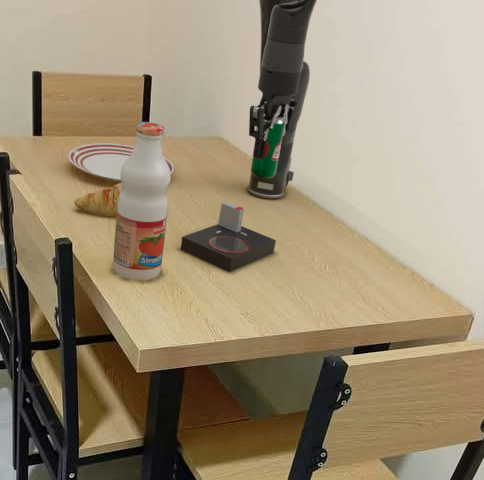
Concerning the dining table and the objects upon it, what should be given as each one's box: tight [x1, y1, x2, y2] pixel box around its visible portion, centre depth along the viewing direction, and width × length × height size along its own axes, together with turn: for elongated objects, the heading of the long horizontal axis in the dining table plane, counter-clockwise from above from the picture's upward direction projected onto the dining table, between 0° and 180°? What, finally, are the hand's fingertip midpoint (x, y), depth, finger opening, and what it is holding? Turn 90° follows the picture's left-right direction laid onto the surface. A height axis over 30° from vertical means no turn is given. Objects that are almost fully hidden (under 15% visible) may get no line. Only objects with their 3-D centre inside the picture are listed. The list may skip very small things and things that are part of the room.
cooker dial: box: [217, 201, 245, 232], centre depth 159 cm, size 5×2×5 cm, turn 50°
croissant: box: [73, 183, 122, 218], centre depth 167 cm, size 21×10×8 cm, turn 109°
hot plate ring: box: [209, 236, 249, 254], centre depth 152 cm, size 8×8×1 cm
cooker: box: [180, 220, 277, 273], centre depth 157 cm, size 17×15×3 cm
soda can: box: [250, 115, 285, 179], centre depth 145 cm, size 5×5×12 cm
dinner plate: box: [67, 142, 175, 184], centre depth 191 cm, size 28×27×3 cm
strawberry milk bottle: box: [112, 121, 172, 282], centre depth 136 cm, size 9×9×28 cm
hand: (265, 155), depth 147 cm, fingers closed on soda can, 5 cm apart
